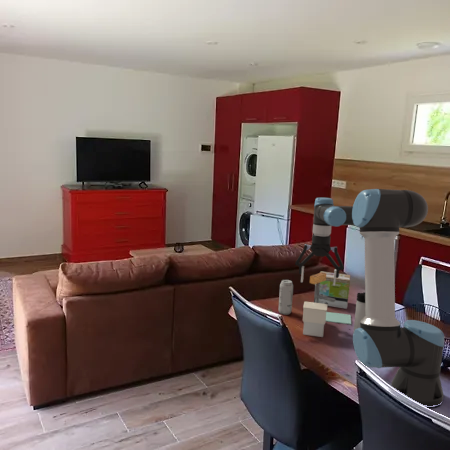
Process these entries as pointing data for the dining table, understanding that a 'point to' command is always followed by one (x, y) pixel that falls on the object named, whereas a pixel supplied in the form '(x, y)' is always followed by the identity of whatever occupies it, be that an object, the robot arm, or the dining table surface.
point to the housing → (313, 329)
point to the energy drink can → (285, 297)
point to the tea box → (335, 290)
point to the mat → (338, 318)
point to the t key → (316, 280)
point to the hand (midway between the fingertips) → (317, 283)
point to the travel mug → (359, 310)
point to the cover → (314, 312)
